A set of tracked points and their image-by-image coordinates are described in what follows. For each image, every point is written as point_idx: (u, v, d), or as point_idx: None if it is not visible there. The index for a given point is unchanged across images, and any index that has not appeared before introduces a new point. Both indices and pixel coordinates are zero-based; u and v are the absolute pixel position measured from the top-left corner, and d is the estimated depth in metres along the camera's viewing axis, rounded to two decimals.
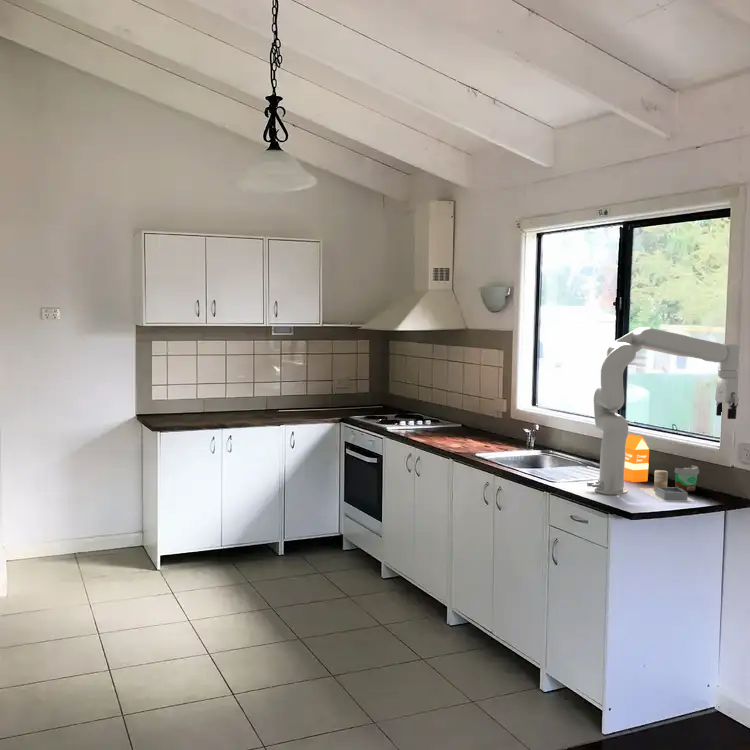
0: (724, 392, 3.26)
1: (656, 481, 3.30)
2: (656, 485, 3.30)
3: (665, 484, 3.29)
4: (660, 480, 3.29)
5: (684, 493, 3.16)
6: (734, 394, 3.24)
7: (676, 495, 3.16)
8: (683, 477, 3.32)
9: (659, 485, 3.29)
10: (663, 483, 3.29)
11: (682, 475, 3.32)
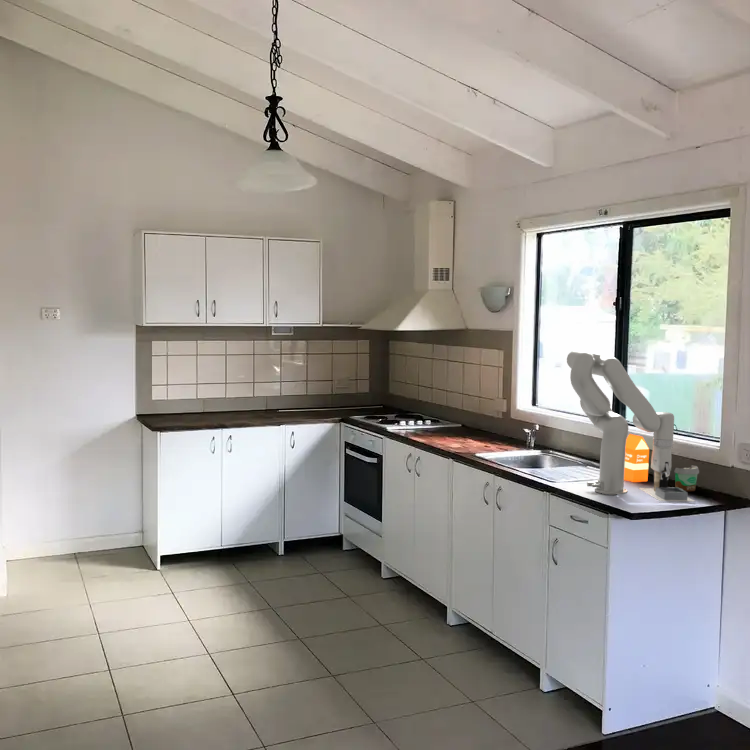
0: (658, 461, 3.27)
1: (656, 481, 3.30)
2: (656, 485, 3.30)
3: None
4: None
5: (684, 493, 3.16)
6: (667, 466, 3.25)
7: (676, 495, 3.16)
8: (683, 477, 3.32)
9: None
10: None
11: (682, 475, 3.32)
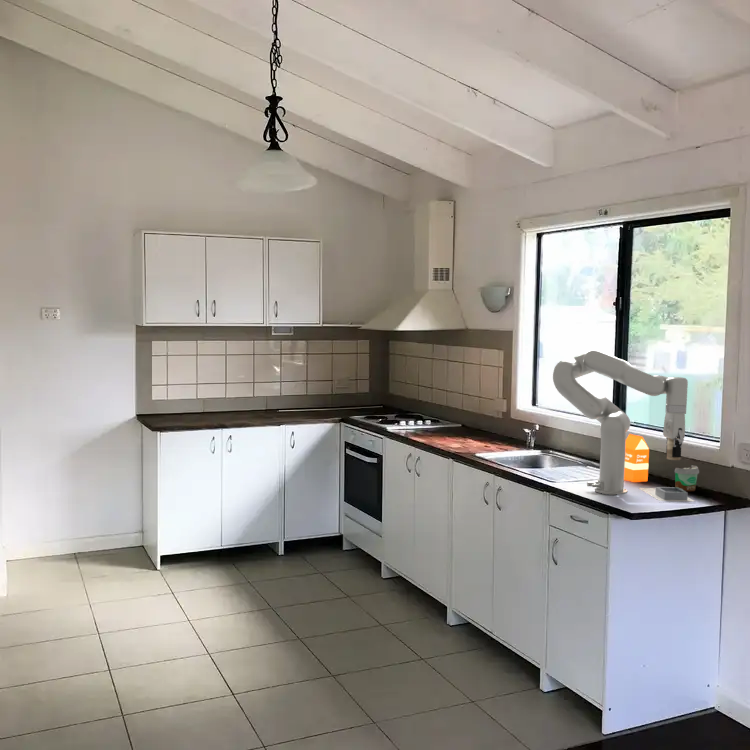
0: (671, 428, 3.15)
1: (669, 449, 3.18)
2: (669, 453, 3.18)
3: None
4: None
5: (684, 493, 3.16)
6: (680, 432, 3.13)
7: (676, 495, 3.16)
8: (683, 477, 3.32)
9: None
10: None
11: (682, 475, 3.32)
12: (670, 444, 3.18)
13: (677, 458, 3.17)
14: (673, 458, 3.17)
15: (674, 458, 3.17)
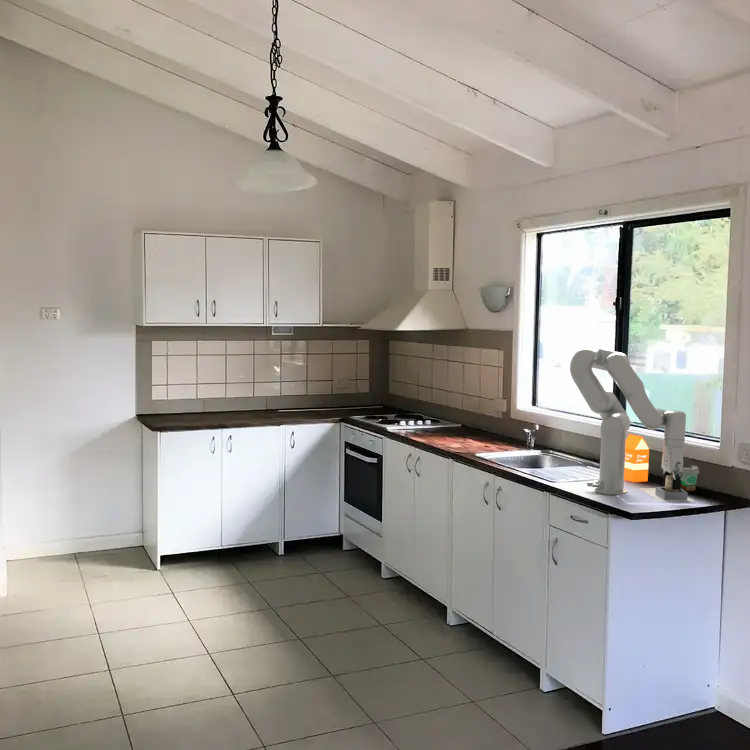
0: (669, 461, 3.16)
1: (667, 487, 3.19)
2: (667, 491, 3.19)
3: (676, 490, 3.18)
4: (671, 486, 3.18)
5: (684, 493, 3.16)
6: (679, 464, 3.14)
7: (676, 495, 3.16)
8: (683, 477, 3.32)
9: (670, 491, 3.18)
10: None
11: (682, 475, 3.32)
12: (668, 482, 3.19)
13: None
14: None
15: None
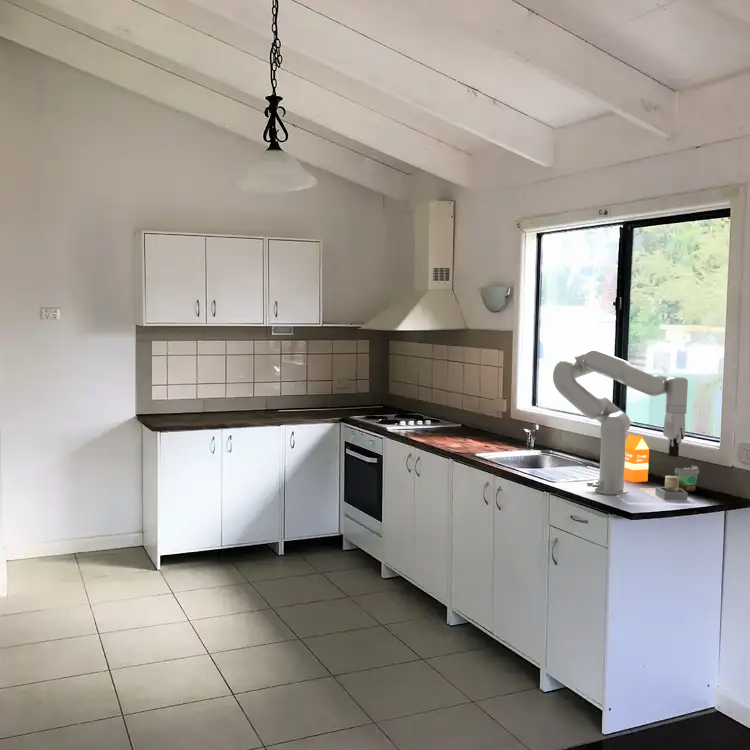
0: (671, 428, 3.15)
1: (667, 487, 3.19)
2: (667, 491, 3.19)
3: (676, 490, 3.18)
4: (671, 486, 3.18)
5: (684, 493, 3.16)
6: (679, 433, 3.14)
7: (676, 495, 3.16)
8: (683, 477, 3.32)
9: (670, 491, 3.18)
10: (674, 489, 3.18)
11: (682, 475, 3.32)
12: (668, 483, 3.19)
13: None
14: None
15: None
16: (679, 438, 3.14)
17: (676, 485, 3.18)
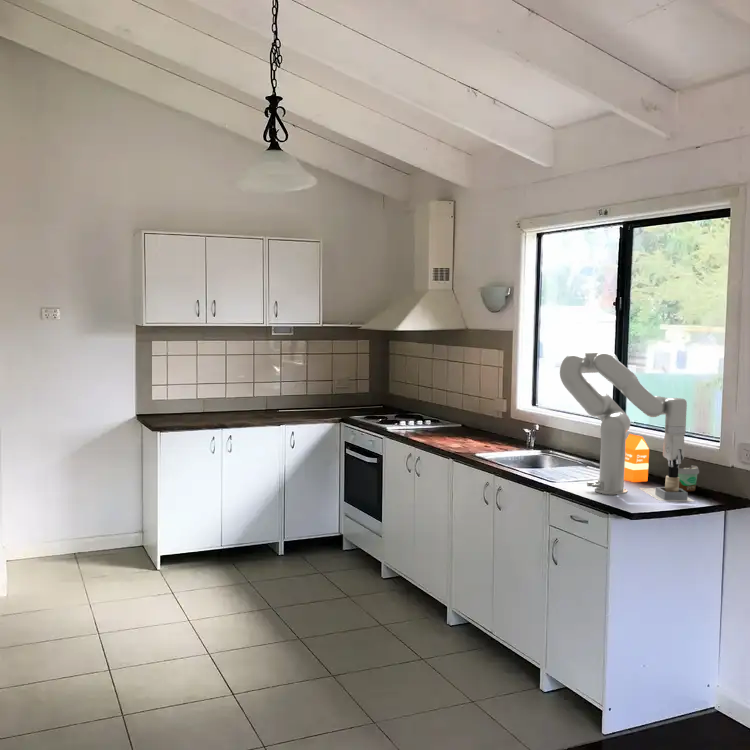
0: (670, 449, 3.16)
1: (667, 487, 3.19)
2: (667, 491, 3.19)
3: (676, 490, 3.18)
4: (671, 486, 3.18)
5: (684, 493, 3.16)
6: (679, 455, 3.15)
7: (676, 495, 3.16)
8: (683, 477, 3.32)
9: (670, 491, 3.18)
10: (675, 489, 3.18)
11: (682, 475, 3.32)
12: (668, 482, 3.19)
13: None
14: None
15: None
16: (678, 459, 3.14)
17: (676, 485, 3.18)
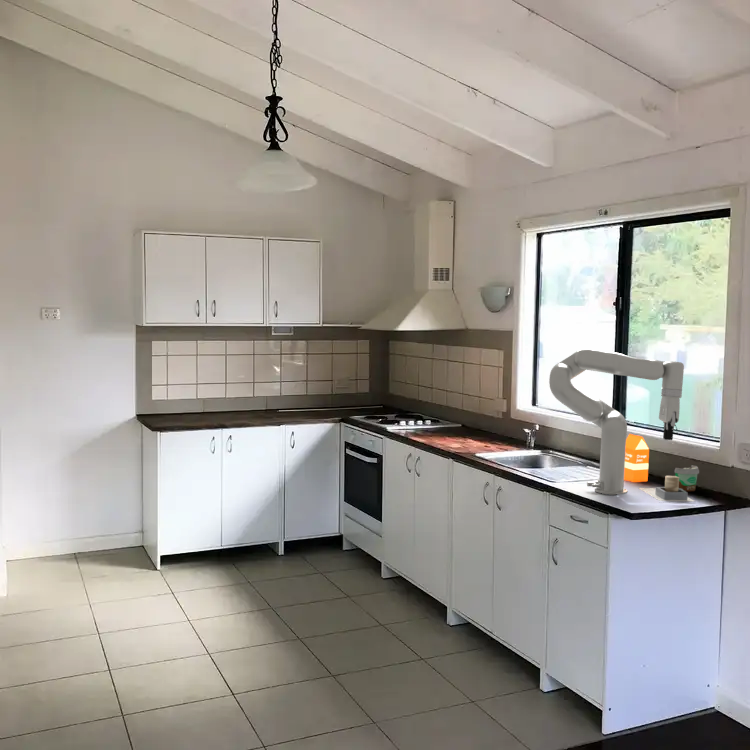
0: (665, 411, 3.20)
1: (667, 487, 3.19)
2: (667, 491, 3.19)
3: (676, 490, 3.18)
4: (671, 486, 3.18)
5: (684, 493, 3.16)
6: (674, 417, 3.19)
7: (676, 495, 3.16)
8: (683, 477, 3.32)
9: (670, 491, 3.18)
10: (674, 489, 3.18)
11: (682, 475, 3.32)
12: (668, 483, 3.19)
13: None
14: None
15: None
16: (673, 421, 3.18)
17: (676, 485, 3.18)
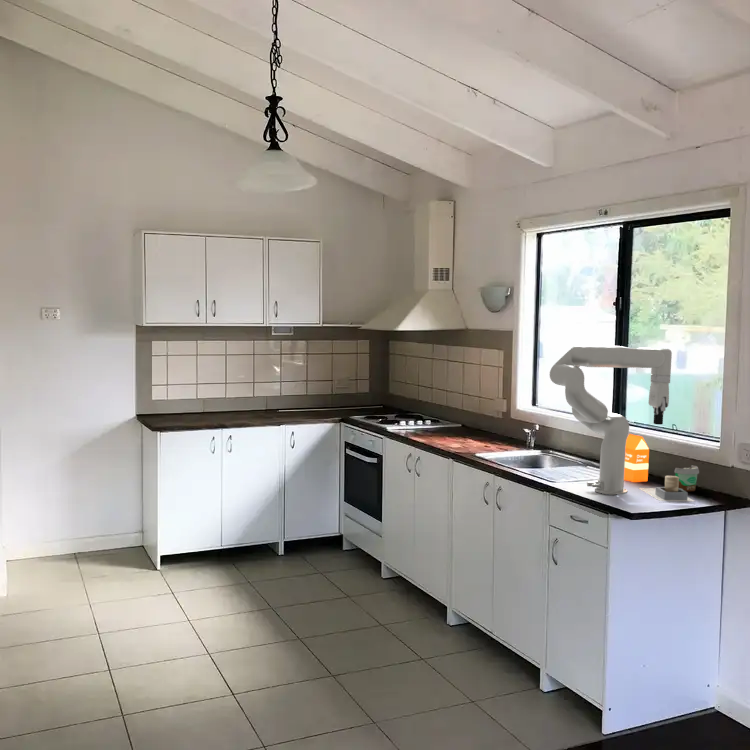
0: (656, 396, 3.31)
1: (667, 487, 3.19)
2: (667, 491, 3.19)
3: (676, 490, 3.18)
4: (671, 486, 3.18)
5: (684, 493, 3.16)
6: (664, 402, 3.30)
7: (676, 495, 3.16)
8: (683, 477, 3.32)
9: (670, 491, 3.18)
10: (674, 489, 3.18)
11: (682, 475, 3.32)
12: (668, 482, 3.19)
13: None
14: None
15: None
16: (663, 406, 3.30)
17: (676, 485, 3.18)
